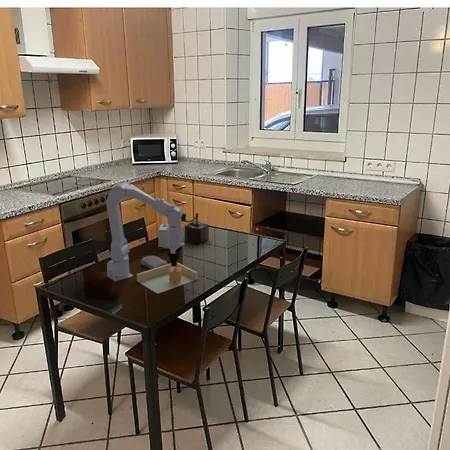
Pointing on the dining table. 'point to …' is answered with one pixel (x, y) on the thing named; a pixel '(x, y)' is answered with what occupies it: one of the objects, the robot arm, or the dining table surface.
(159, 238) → the light bulb box
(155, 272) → the tray
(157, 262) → the stone block
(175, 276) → the cube
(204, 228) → the pepper mill
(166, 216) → the robot arm
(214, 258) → the dining table surface
